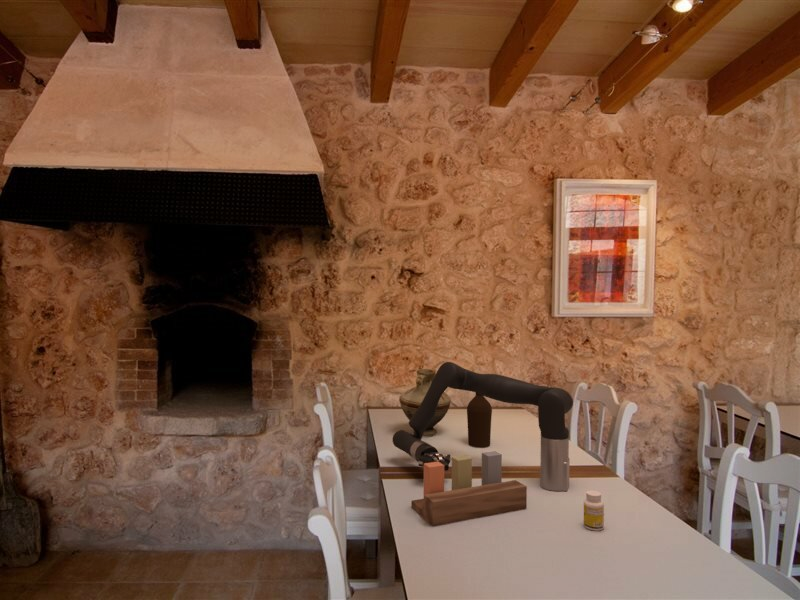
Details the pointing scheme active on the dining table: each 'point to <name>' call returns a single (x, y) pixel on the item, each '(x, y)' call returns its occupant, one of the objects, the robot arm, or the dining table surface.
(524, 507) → the console
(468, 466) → the khaki rectangular block
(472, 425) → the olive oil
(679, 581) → the dining table surface
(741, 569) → the dining table surface
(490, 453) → the slate key
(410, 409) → the amphora
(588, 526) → the supplement bottle
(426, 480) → the terracotta key
